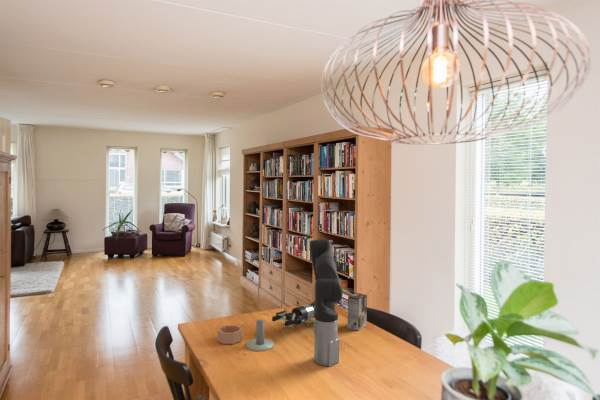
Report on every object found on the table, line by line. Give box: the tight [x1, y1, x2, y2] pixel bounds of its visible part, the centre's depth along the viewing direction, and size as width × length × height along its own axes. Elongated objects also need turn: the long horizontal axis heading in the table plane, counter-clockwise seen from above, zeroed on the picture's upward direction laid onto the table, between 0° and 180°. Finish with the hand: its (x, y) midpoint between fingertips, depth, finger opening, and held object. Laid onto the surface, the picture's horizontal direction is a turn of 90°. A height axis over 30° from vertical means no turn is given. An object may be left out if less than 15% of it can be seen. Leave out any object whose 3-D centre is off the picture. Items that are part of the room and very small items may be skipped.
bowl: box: [217, 324, 243, 345], centre depth 180 cm, size 10×10×5 cm
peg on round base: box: [245, 319, 275, 352], centre depth 175 cm, size 12×12×11 cm
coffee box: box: [347, 292, 368, 331], centre depth 200 cm, size 9×6×16 cm
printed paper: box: [282, 319, 315, 331], centre depth 203 cm, size 30×30×2 cm
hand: (278, 321), depth 183 cm, fingers open, 8 cm apart
